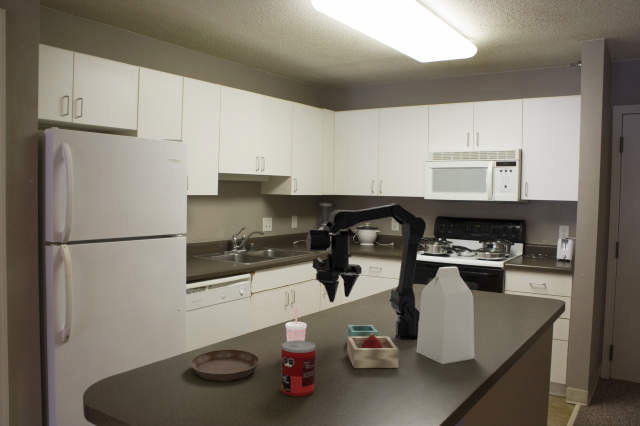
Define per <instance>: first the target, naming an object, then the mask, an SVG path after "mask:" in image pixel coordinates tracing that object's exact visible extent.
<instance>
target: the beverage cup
mask: <svg viewBox="0 0 640 426" xmlns="http://www.w3.org/2000/svg"><path fill="white" fill-rule="evenodd" d="M284 325H285V328H286V329H285V330H286V331H285V332H286V342H288V341H306V329H307V328H308V324H307V323H306V322H302V321H298V306H295V319H294V321H287V323H285V324H284Z"/></svg>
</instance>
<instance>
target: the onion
mask: <svg viewBox="0 0 640 426" xmlns="http://www.w3.org/2000/svg"><path fill="white" fill-rule="evenodd" d="M362 348H382V344H381V342H380V340H379V339H378V338H376V337H375V334H374V333H371V335H370V336H369V337H368V338H366V339H365V340H364V342H363V344H362Z"/></svg>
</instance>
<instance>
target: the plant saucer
mask: <svg viewBox="0 0 640 426" xmlns="http://www.w3.org/2000/svg"><path fill="white" fill-rule="evenodd" d="M259 363H260V357H259V356H258V355H257V354H256V353H253V352H252V351H251V352H250V351H247V350H241V349H218V350H216V349H215V350H210V351H207V352H203V353H200V354H198V355H196V356H194V357H192V358H191V360H190V366H191V368H192V369H193V371H194V372H195V373H196V374H197V375H198V376H199V377H200V378H203V379H205V380H210V381H215V380H216V381H217V382H218V381H219V382H223V381H224V382H227V380H228V381H235V379H236V380H239V379H243V378H245V377H248V376H249V375H251V374H252V373H253V372H254V371H255V370H256V369H257V367H258V365H259Z"/></svg>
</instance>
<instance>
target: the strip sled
mask: <svg viewBox="0 0 640 426" xmlns="http://www.w3.org/2000/svg"><path fill="white" fill-rule="evenodd" d="M346 330H347V332H346V333H347V335H346V336H347V337H346V341H347V343H346V344H347V345H346V354H347V356H348V358H349V361H350V363H351V364H352V367H353V368H354V369H381V368H382V369H385V368H386V369H387V368H388V369H392V368H395V369H396V368H399V353H400V352H399V351H400V350H399V348H398V347H397V345H396V344H395V343H394V342H393V341H392V339H391V338H390V337H389V336H386V335H385V336H379V332H378V330H377V329H376V328H375V326H374V325H373V324H348V325H347V329H346ZM371 333H374V334H375V337H376V338H378V339H379V340H380V342H381V344H382V348H362V344H363V342H364V340H365V339H366V338H368V337H369V336H370V335H371Z"/></svg>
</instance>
